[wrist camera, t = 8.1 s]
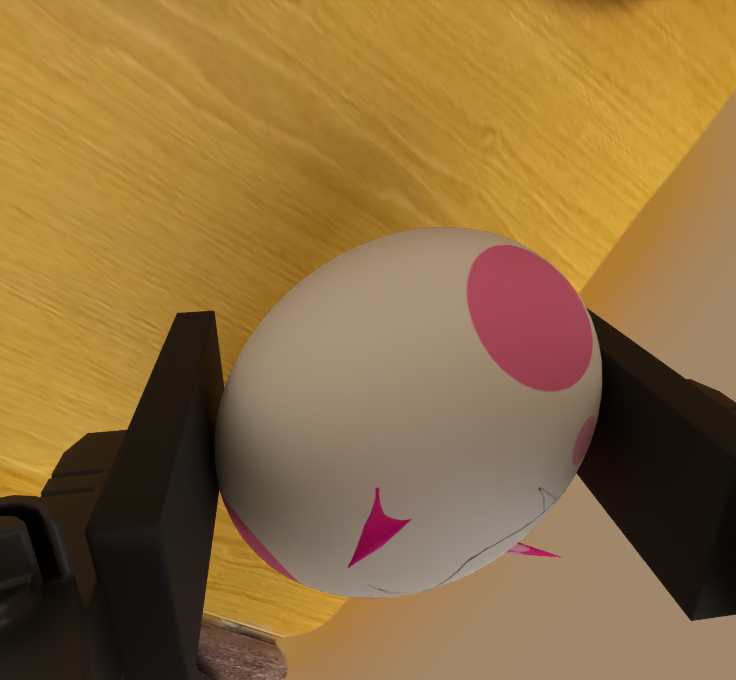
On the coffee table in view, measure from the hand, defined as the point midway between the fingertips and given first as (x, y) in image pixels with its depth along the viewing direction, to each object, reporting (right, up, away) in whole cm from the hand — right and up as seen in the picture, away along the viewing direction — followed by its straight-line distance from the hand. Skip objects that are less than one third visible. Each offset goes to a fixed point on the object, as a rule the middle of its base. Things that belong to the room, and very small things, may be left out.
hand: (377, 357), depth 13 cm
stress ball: (+1, -3, -6) cm, 7 cm away
